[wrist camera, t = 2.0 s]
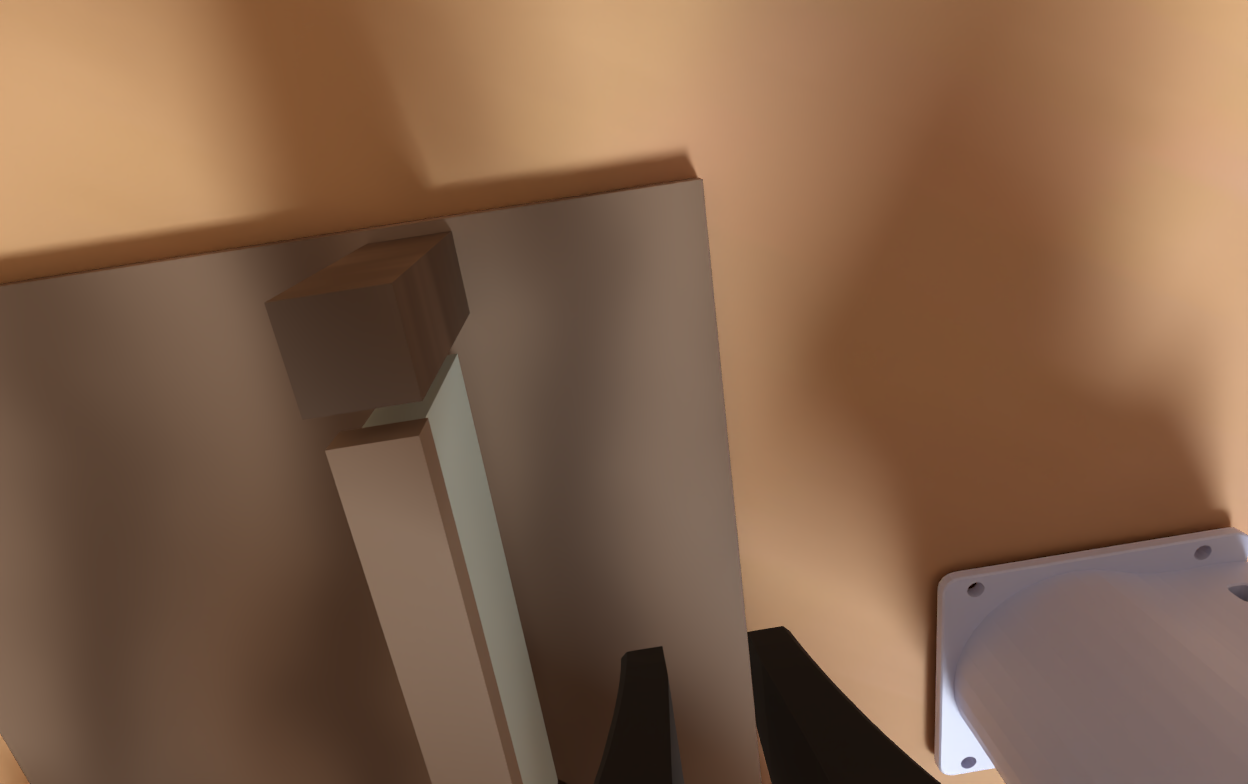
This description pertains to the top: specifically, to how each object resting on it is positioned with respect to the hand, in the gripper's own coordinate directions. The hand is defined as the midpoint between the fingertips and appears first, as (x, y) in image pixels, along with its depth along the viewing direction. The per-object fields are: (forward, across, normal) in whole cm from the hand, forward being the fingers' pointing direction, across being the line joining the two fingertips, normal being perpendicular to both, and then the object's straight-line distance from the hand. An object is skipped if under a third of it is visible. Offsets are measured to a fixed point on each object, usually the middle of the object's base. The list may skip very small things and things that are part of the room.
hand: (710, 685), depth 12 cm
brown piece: (+8, +9, +4) cm, 13 cm away
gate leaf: (+7, +5, +3) cm, 9 cm away
